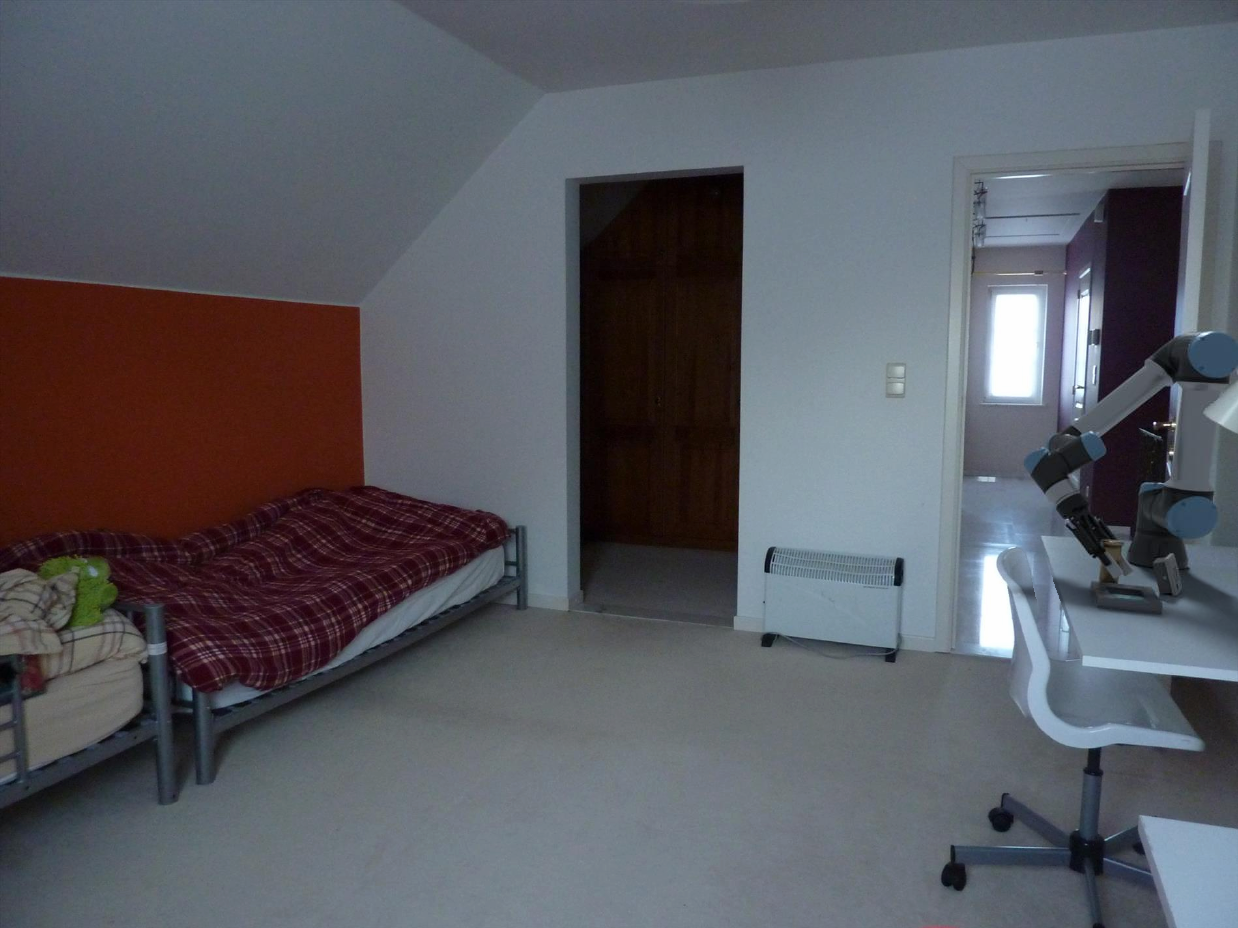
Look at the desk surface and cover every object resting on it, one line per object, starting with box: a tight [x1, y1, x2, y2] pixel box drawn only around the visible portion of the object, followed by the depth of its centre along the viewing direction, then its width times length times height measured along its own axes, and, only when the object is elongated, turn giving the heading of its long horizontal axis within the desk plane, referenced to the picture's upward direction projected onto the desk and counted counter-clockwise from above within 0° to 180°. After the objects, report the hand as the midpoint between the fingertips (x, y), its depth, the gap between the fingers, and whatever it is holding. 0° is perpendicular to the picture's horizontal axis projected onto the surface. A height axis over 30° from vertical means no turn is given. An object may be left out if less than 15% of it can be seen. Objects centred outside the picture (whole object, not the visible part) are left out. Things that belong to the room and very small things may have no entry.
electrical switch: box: [1152, 553, 1183, 597], centre depth 228 cm, size 9×5×9 cm, turn 141°
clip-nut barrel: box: [1098, 539, 1125, 584], centre depth 234 cm, size 5×5×11 cm
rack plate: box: [1089, 580, 1164, 616], centre depth 217 cm, size 16×13×3 cm
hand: (1124, 574), depth 231 cm, fingers closed on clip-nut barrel, 4 cm apart
